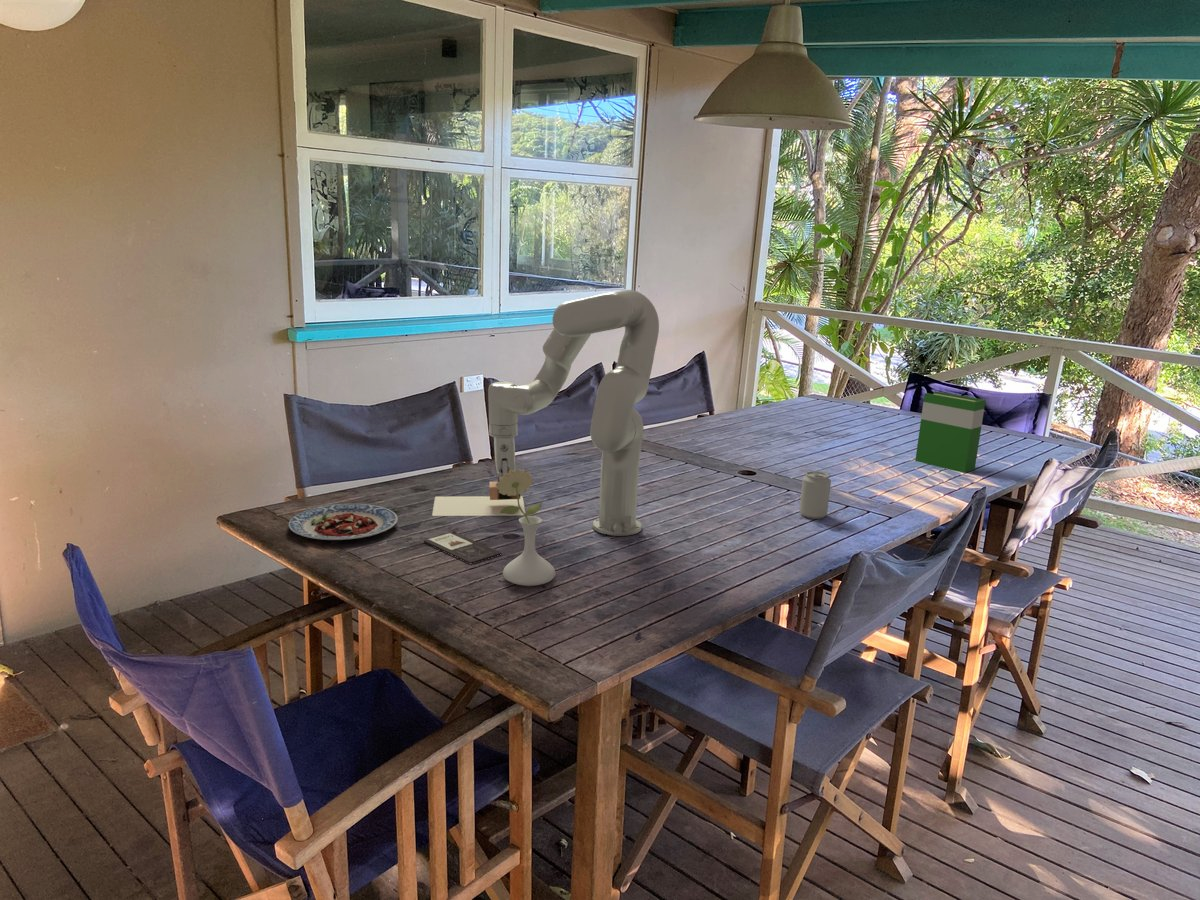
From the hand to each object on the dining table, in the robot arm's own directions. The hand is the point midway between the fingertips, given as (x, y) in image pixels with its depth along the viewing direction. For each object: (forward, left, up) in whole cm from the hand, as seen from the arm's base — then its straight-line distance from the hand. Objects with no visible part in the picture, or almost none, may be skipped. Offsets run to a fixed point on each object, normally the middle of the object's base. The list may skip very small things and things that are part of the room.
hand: (504, 494), depth 230 cm
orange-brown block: (0, 0, -1) cm, 1 cm away
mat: (0, +7, -4) cm, 8 cm away
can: (-7, -84, -4) cm, 85 cm away
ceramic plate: (-14, +40, -5) cm, 42 cm away
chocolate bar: (-29, +11, -5) cm, 31 cm away
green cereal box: (+44, -151, -4) cm, 158 cm away
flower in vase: (-48, -3, -4) cm, 48 cm away
